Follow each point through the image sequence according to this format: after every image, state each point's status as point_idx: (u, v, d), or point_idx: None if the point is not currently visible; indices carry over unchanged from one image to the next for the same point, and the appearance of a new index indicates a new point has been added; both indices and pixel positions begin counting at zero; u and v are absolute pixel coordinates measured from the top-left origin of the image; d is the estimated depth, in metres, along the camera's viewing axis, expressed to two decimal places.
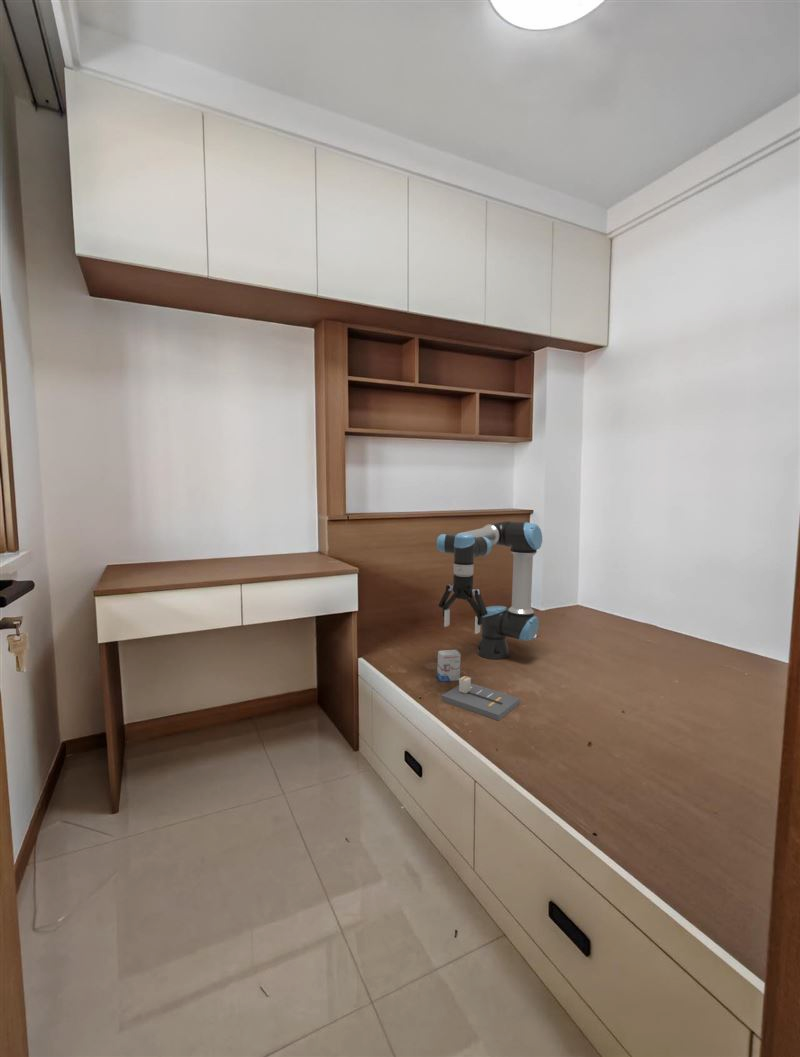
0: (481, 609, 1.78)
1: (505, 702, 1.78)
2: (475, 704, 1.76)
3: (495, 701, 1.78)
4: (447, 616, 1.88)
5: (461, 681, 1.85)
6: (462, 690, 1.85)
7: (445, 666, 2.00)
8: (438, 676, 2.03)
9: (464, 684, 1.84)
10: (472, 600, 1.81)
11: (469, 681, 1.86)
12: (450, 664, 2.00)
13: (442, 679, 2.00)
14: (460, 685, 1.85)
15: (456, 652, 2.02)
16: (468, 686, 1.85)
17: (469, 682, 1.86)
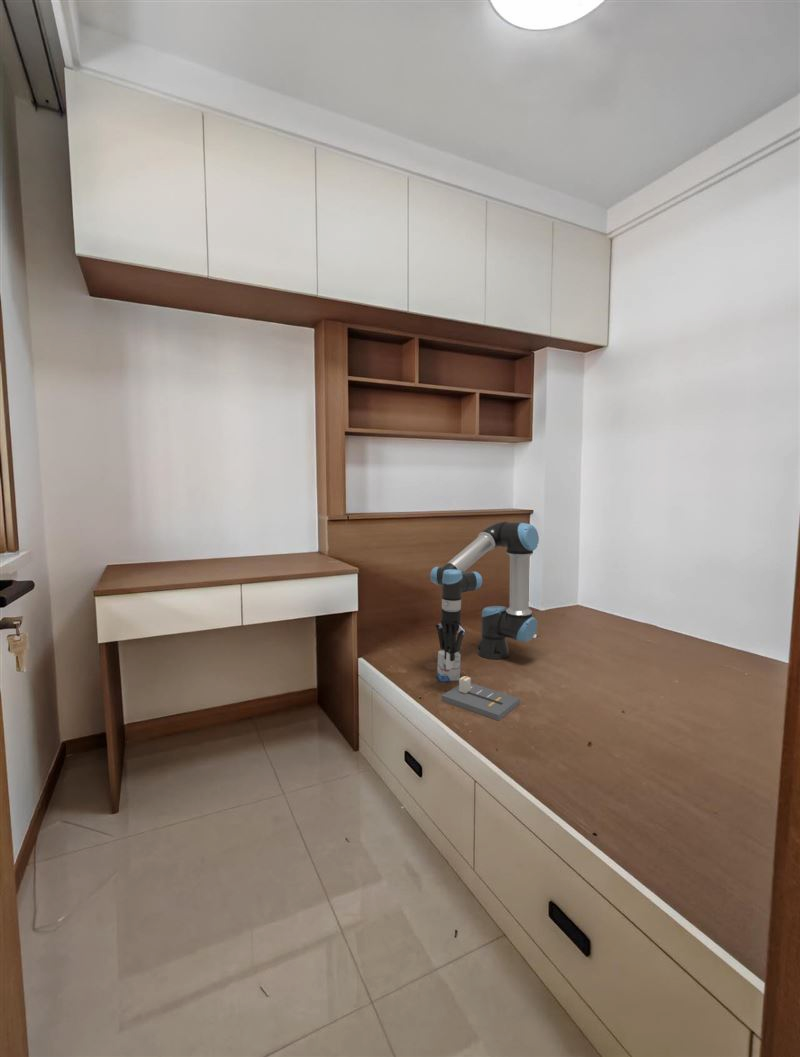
0: (456, 647, 1.86)
1: (505, 702, 1.78)
2: (475, 704, 1.76)
3: (495, 701, 1.78)
4: None
5: (461, 681, 1.85)
6: (462, 690, 1.85)
7: (445, 666, 2.00)
8: (438, 676, 2.03)
9: (464, 684, 1.84)
10: (454, 637, 1.87)
11: (469, 681, 1.86)
12: None
13: (442, 679, 2.00)
14: (460, 685, 1.85)
15: None
16: (468, 686, 1.85)
17: (469, 682, 1.86)
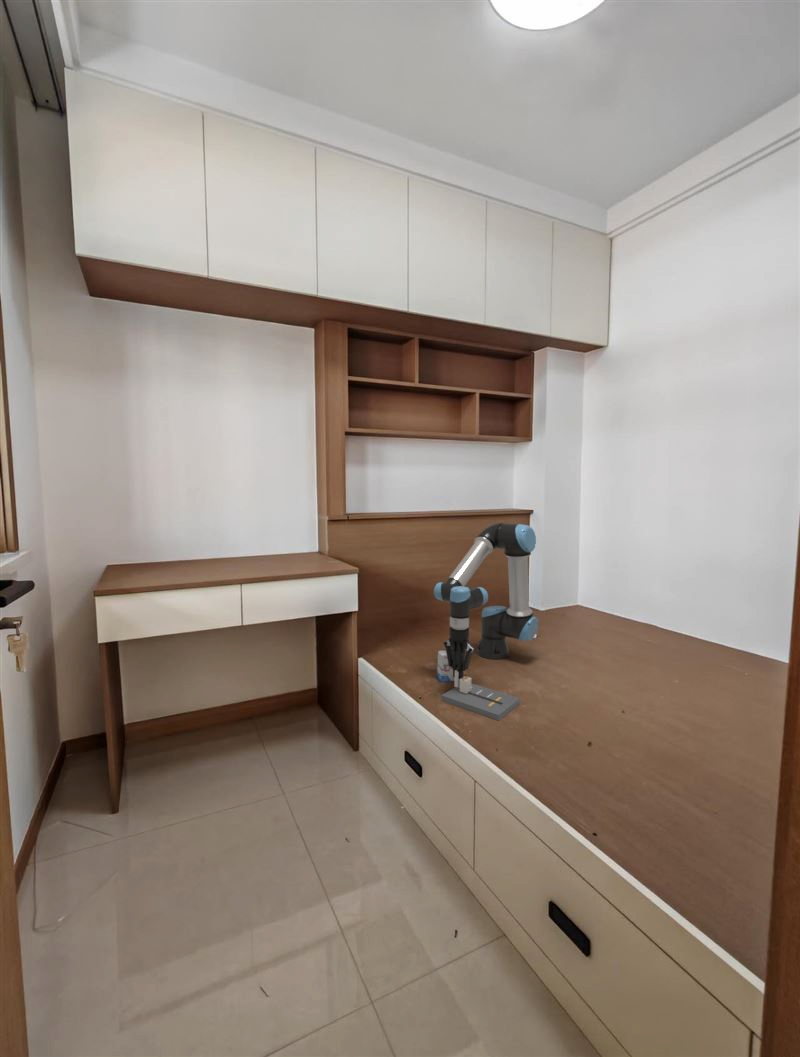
0: (464, 665, 1.84)
1: (505, 702, 1.78)
2: (475, 704, 1.76)
3: (495, 701, 1.78)
4: None
5: (462, 681, 1.85)
6: (463, 690, 1.85)
7: (445, 666, 1.99)
8: (438, 676, 2.03)
9: (465, 684, 1.84)
10: (462, 654, 1.86)
11: (470, 681, 1.86)
12: None
13: (442, 679, 2.00)
14: (461, 685, 1.85)
15: None
16: (469, 686, 1.85)
17: (470, 682, 1.86)
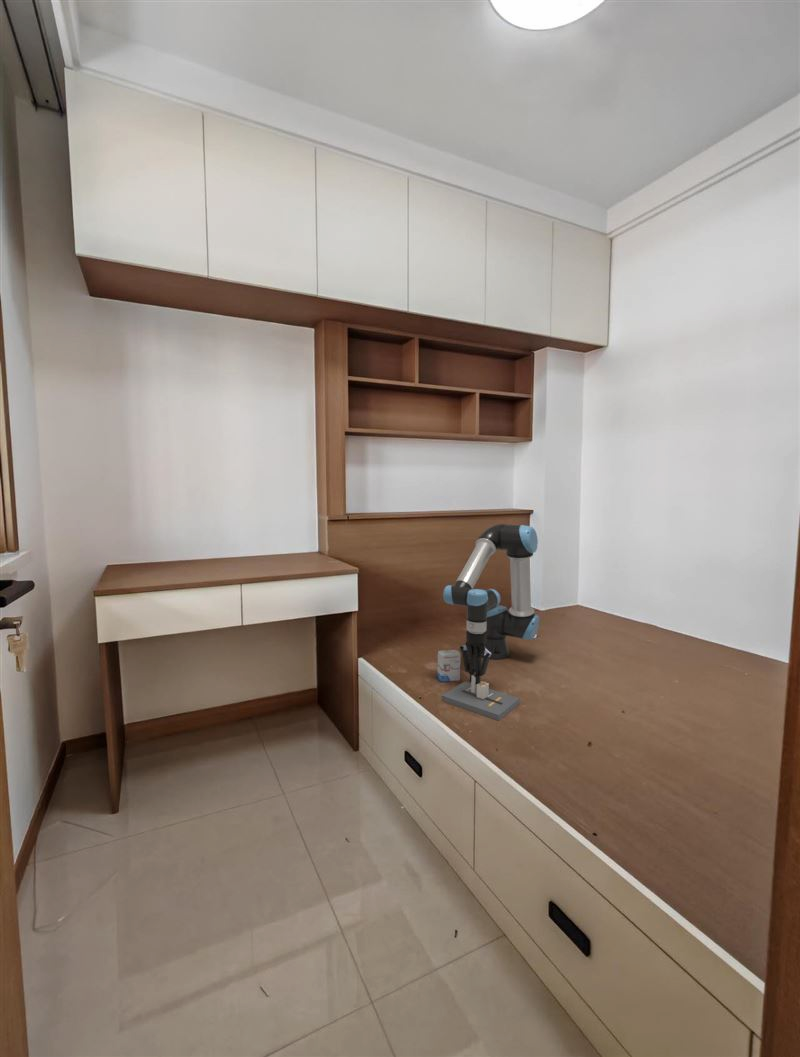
0: (482, 670, 1.79)
1: (505, 702, 1.78)
2: (475, 704, 1.76)
3: (495, 701, 1.78)
4: None
5: (479, 687, 1.80)
6: (480, 696, 1.80)
7: (445, 666, 2.00)
8: (438, 676, 2.03)
9: (482, 690, 1.79)
10: (479, 659, 1.81)
11: (487, 687, 1.81)
12: (450, 664, 2.00)
13: (442, 679, 2.00)
14: (478, 691, 1.80)
15: (456, 652, 2.02)
16: (486, 692, 1.81)
17: (487, 688, 1.81)
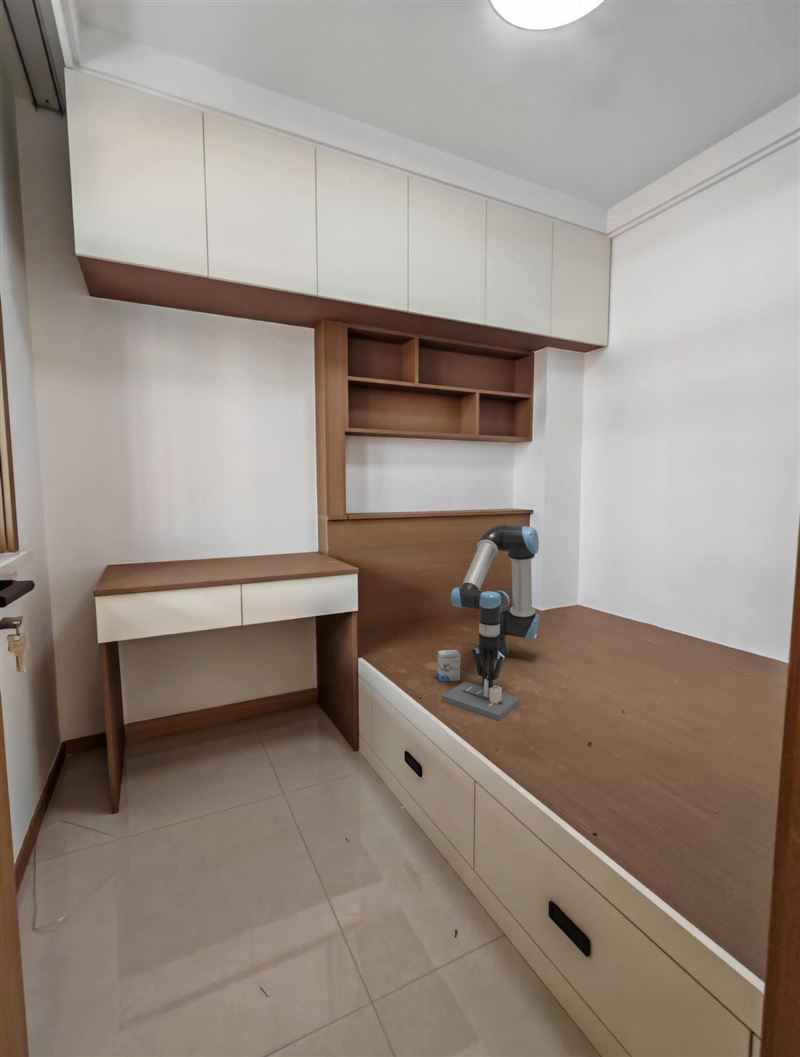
0: (495, 674, 1.76)
1: (505, 702, 1.78)
2: (475, 704, 1.76)
3: None
4: None
5: (492, 691, 1.77)
6: (493, 700, 1.77)
7: (445, 666, 1.99)
8: (438, 676, 2.03)
9: (495, 694, 1.76)
10: (492, 663, 1.77)
11: (500, 691, 1.78)
12: (450, 664, 2.00)
13: (442, 679, 2.00)
14: (491, 695, 1.77)
15: (456, 652, 2.02)
16: (499, 696, 1.77)
17: (500, 692, 1.77)
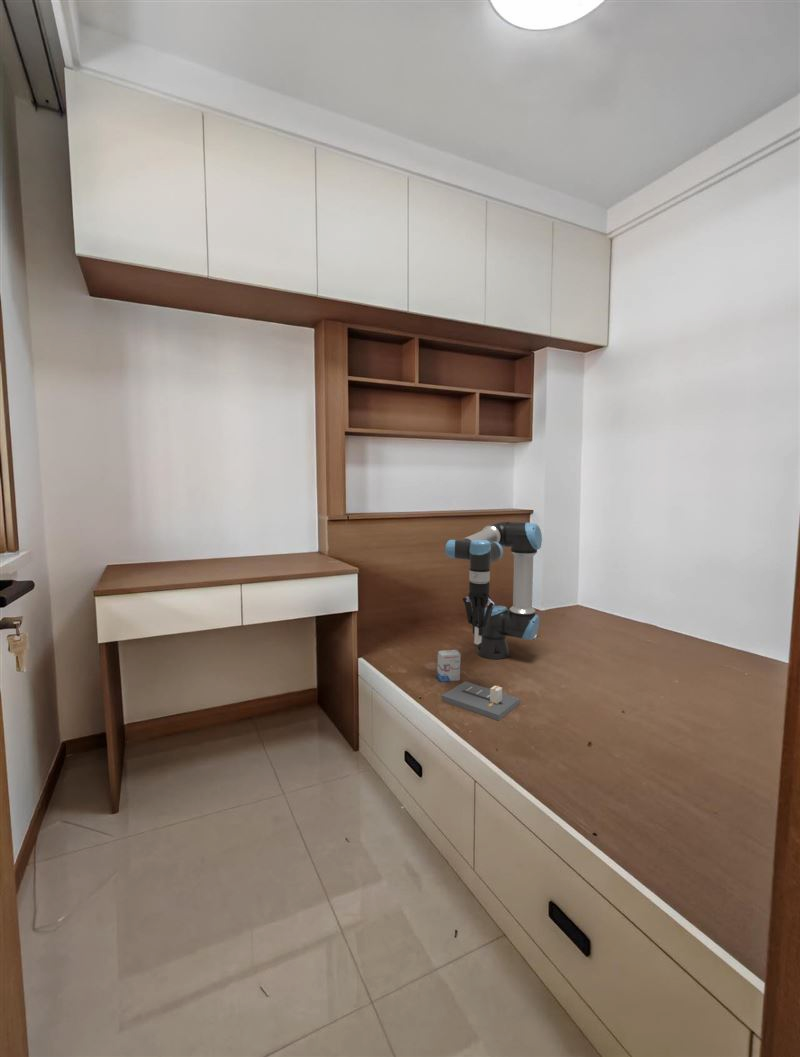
0: (485, 620, 1.77)
1: (505, 702, 1.78)
2: (475, 704, 1.76)
3: None
4: None
5: (492, 691, 1.76)
6: (493, 700, 1.77)
7: (445, 666, 1.99)
8: (438, 676, 2.03)
9: (496, 694, 1.76)
10: (482, 610, 1.79)
11: (501, 691, 1.78)
12: (450, 664, 2.00)
13: (442, 679, 2.00)
14: (491, 695, 1.77)
15: (456, 652, 2.02)
16: (499, 696, 1.77)
17: (500, 692, 1.77)
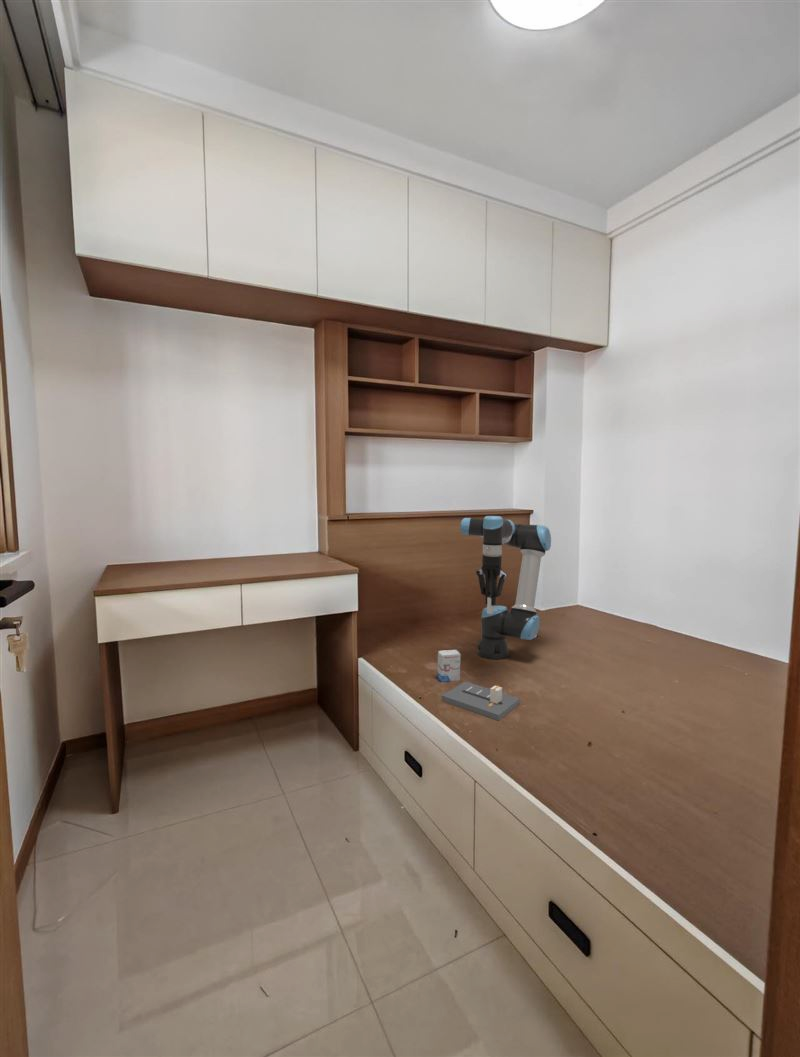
0: (497, 591, 1.90)
1: (505, 702, 1.78)
2: (475, 704, 1.76)
3: None
4: None
5: (492, 691, 1.76)
6: (493, 700, 1.77)
7: (445, 666, 1.99)
8: (438, 676, 2.03)
9: (496, 694, 1.76)
10: (495, 581, 1.91)
11: (501, 691, 1.78)
12: (450, 664, 2.00)
13: (442, 679, 2.00)
14: (491, 695, 1.77)
15: (456, 652, 2.02)
16: (499, 696, 1.77)
17: (500, 692, 1.77)
